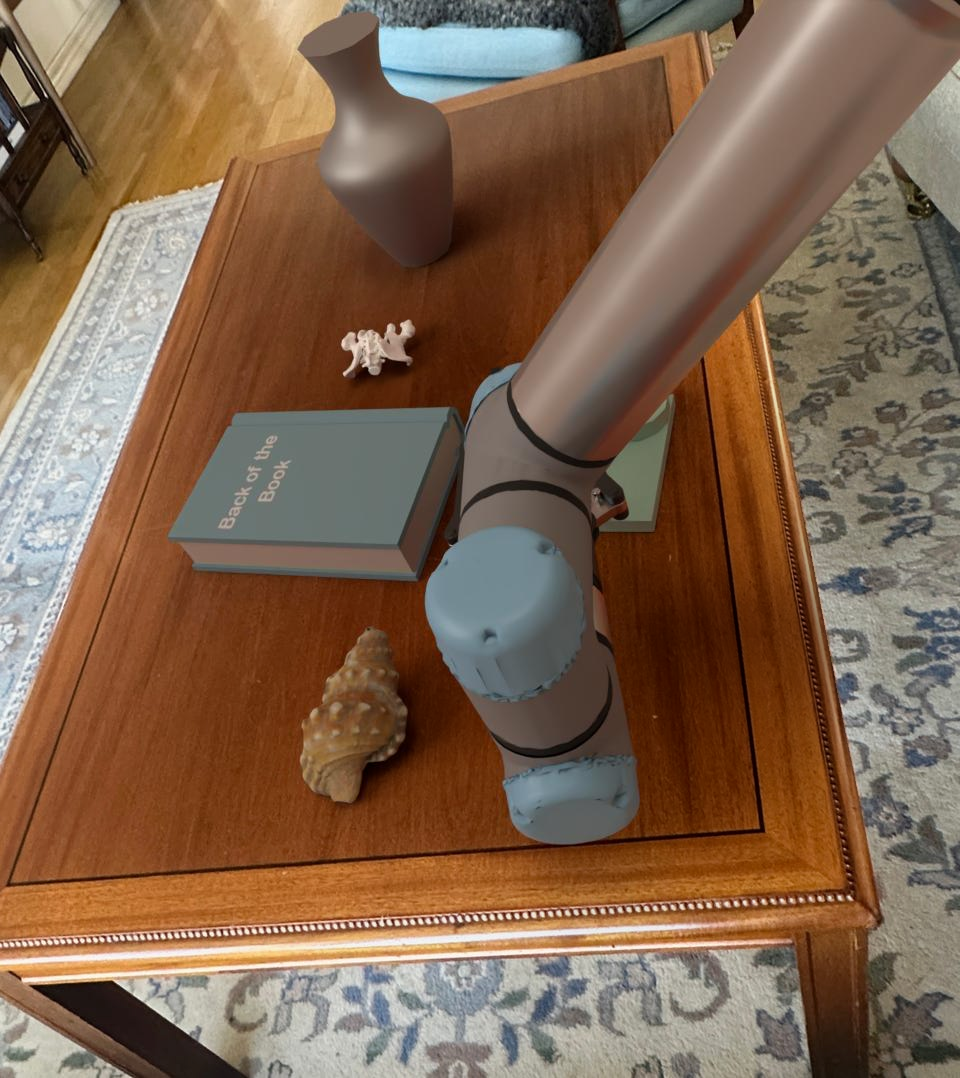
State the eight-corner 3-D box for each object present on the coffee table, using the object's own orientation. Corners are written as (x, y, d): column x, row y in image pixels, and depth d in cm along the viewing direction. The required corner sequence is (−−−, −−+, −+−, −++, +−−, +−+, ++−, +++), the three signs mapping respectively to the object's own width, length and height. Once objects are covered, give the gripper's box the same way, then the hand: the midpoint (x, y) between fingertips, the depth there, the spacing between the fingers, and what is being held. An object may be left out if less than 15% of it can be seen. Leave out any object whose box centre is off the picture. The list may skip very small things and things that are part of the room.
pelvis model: (410, 304, 99) (403, 342, 95) (423, 339, 102) (416, 377, 98) (337, 320, 101) (326, 358, 97) (352, 354, 104) (342, 392, 100)
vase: (472, 280, 105) (389, 53, 87) (351, 298, 110) (249, 86, 92) (493, 202, 114) (422, -20, 96) (380, 222, 119) (292, 14, 101)
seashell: (328, 731, 78) (313, 620, 74) (428, 737, 76) (418, 624, 73) (288, 806, 70) (269, 685, 66) (399, 814, 68) (386, 691, 64)
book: (195, 570, 90) (166, 536, 86) (262, 441, 99) (239, 406, 95) (418, 581, 81) (397, 544, 77) (469, 438, 90) (452, 399, 86)
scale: (676, 401, 85) (671, 376, 83) (654, 532, 77) (648, 507, 75) (503, 409, 91) (494, 385, 89) (466, 531, 83) (455, 508, 81)
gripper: (454, 659, 69) (441, 430, 84) (670, 611, 66) (615, 384, 81) (418, 597, 63) (412, 365, 78) (652, 542, 60) (597, 313, 76)
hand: (515, 375), depth 80 cm, fingers closed on chess piece, 2 cm apart
